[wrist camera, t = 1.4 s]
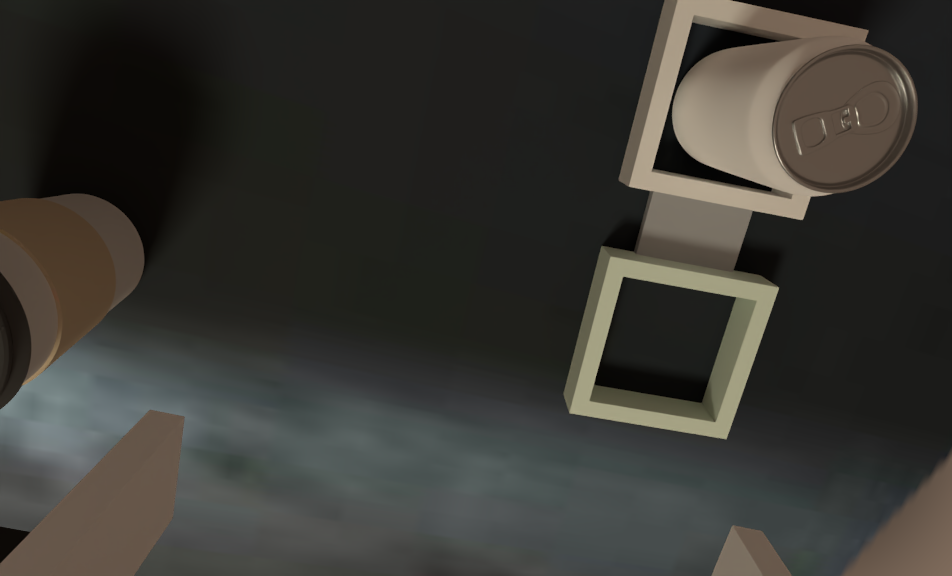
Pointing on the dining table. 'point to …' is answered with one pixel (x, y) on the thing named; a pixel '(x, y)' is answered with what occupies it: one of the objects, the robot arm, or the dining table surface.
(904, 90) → the can
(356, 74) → the dining table surface
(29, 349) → the coffee cup
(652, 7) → the dining table surface
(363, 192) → the dining table surface
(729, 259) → the socket panel
